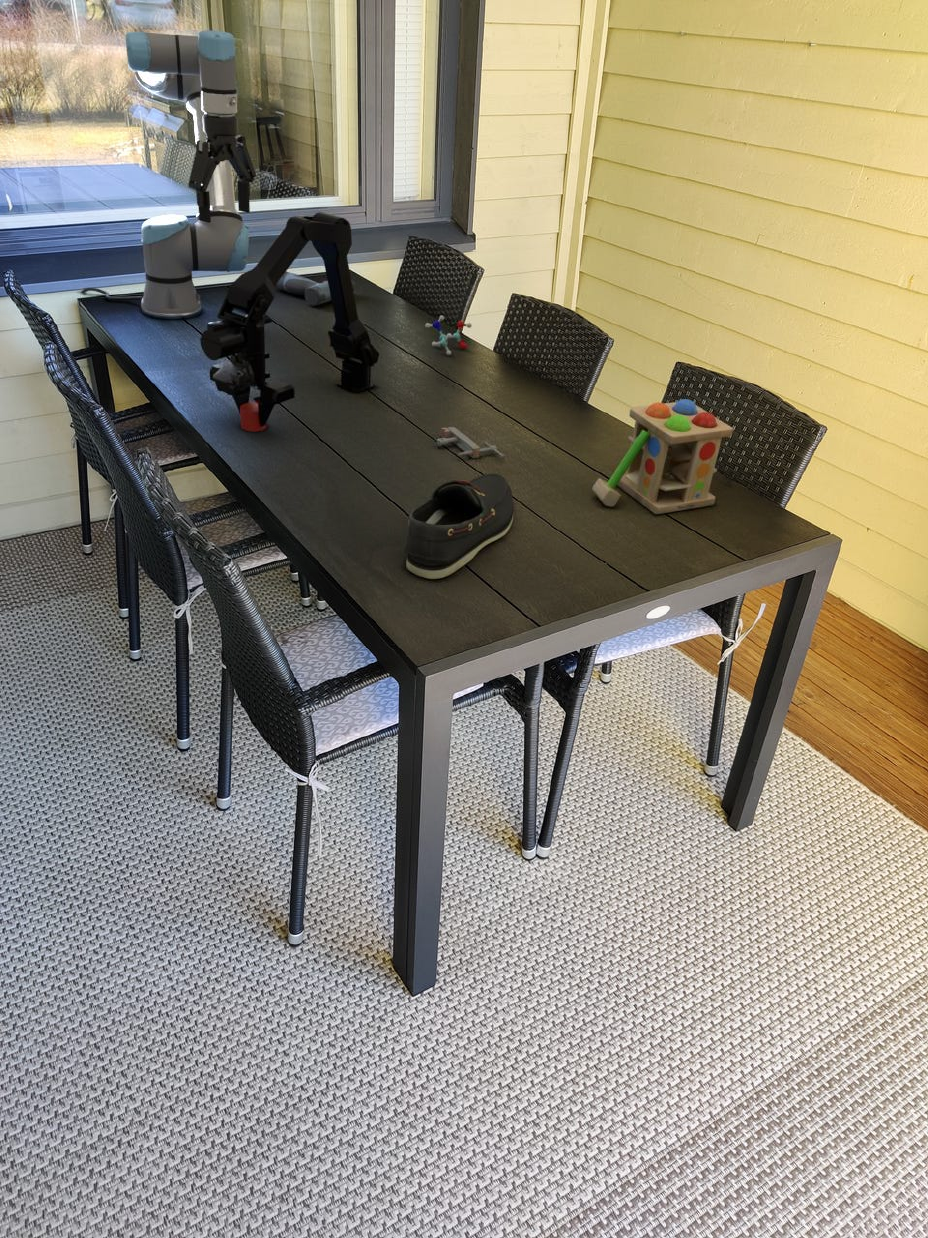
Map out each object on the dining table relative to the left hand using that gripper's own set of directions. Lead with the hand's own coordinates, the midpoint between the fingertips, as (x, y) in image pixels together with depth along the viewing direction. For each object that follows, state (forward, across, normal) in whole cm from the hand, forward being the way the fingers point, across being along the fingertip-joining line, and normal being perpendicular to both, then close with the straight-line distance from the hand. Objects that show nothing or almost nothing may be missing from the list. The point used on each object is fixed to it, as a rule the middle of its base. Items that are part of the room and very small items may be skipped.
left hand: (225, 216), depth 225 cm
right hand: (+28, -36, -36) cm, 58 cm away
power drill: (+31, +48, +10) cm, 57 cm away
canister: (+29, -36, -36) cm, 58 cm away
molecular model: (+30, +33, -42) cm, 61 cm away
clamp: (+29, -18, -76) cm, 84 cm away
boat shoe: (+28, -50, -93) cm, 109 cm away
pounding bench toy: (+28, -14, -114) cm, 119 cm away
